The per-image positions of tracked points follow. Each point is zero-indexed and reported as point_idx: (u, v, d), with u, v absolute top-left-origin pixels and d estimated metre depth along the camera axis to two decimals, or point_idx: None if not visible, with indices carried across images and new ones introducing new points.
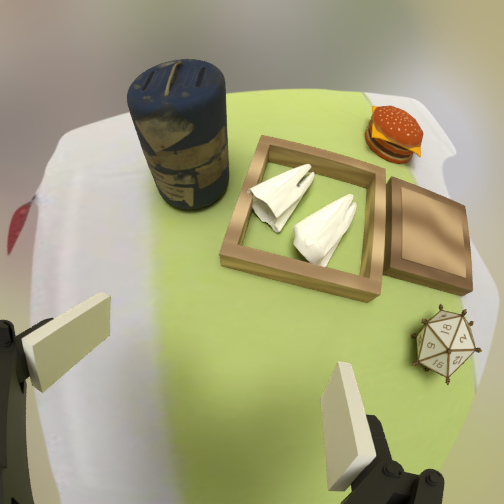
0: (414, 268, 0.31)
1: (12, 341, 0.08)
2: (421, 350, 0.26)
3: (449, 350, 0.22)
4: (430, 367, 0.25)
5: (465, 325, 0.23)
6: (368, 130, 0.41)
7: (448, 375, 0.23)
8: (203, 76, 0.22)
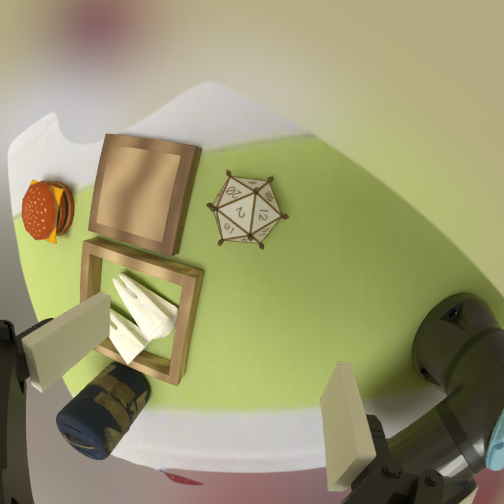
0: (171, 228, 0.35)
1: (12, 341, 0.08)
2: (249, 242, 0.33)
3: (249, 239, 0.28)
4: (267, 233, 0.32)
5: (227, 206, 0.29)
6: None
7: (279, 217, 0.30)
8: (70, 425, 0.28)
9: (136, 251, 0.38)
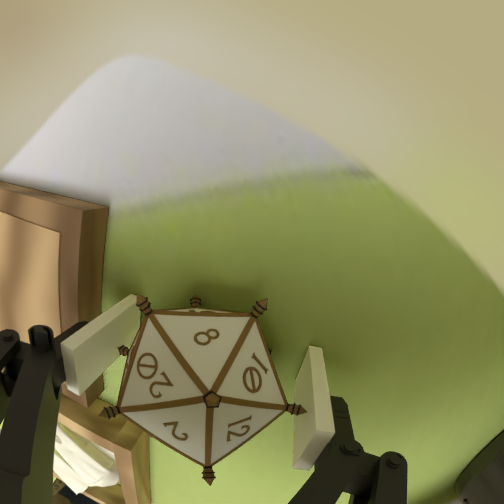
0: None
1: (50, 347, 0.09)
2: None
3: (206, 480, 0.09)
4: None
5: (140, 412, 0.09)
6: None
7: (280, 413, 0.11)
8: None
9: None
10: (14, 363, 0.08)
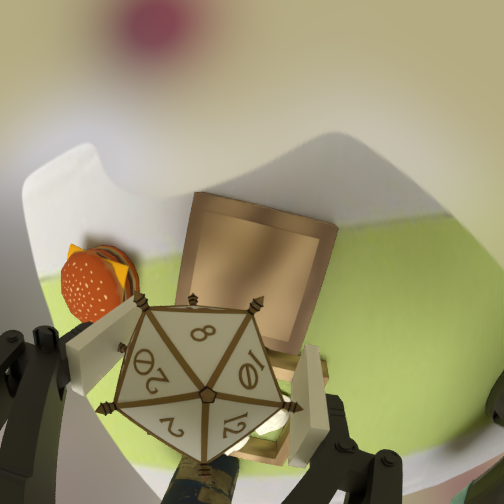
0: (301, 326, 0.28)
1: (55, 348, 0.09)
2: None
3: (202, 477, 0.09)
4: None
5: (136, 408, 0.09)
6: None
7: (277, 410, 0.11)
8: None
9: None
10: (18, 364, 0.08)
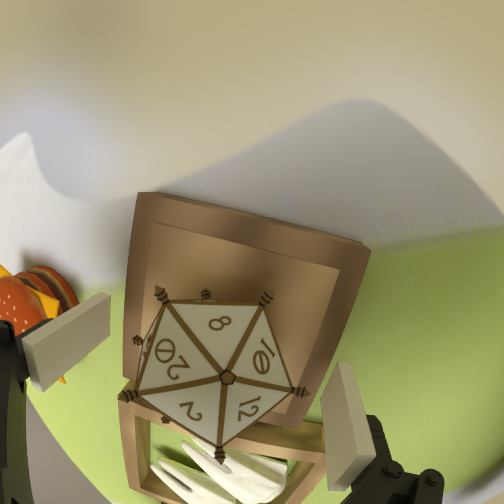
0: None
1: (12, 341, 0.08)
2: None
3: (217, 459, 0.10)
4: None
5: (158, 394, 0.10)
6: None
7: (286, 395, 0.12)
8: None
9: None
10: None
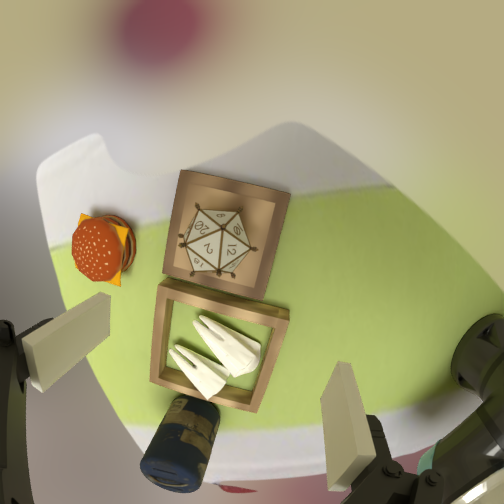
0: (263, 274, 0.36)
1: (12, 341, 0.08)
2: (220, 272, 0.33)
3: (217, 275, 0.29)
4: (238, 264, 0.32)
5: (195, 242, 0.29)
6: None
7: (248, 249, 0.31)
8: (161, 469, 0.29)
9: (217, 293, 0.40)
10: None
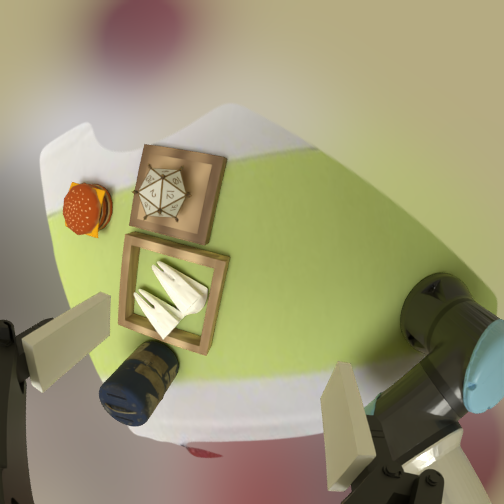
0: (204, 222, 0.44)
1: (12, 341, 0.08)
2: (166, 216, 0.41)
3: (158, 212, 0.37)
4: (178, 209, 0.40)
5: (144, 189, 0.37)
6: None
7: (184, 196, 0.39)
8: (114, 394, 0.37)
9: (172, 242, 0.48)
10: None
